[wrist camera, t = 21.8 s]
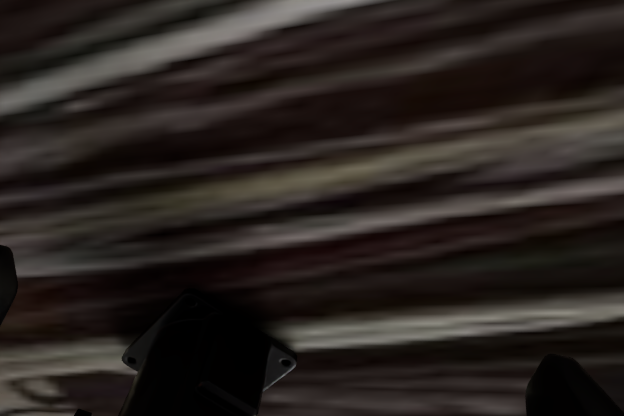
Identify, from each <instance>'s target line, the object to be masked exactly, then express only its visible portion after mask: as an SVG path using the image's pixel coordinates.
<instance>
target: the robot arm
mask: <svg viewBox="0 0 624 416" xmlns="http://www.w3.org/2000/svg"><path fill="white" fill-rule="evenodd" d="M17 289H18V281H17V275H16V269H15V263H14V258H13V253H12V251H11V249H10V248H9V247H7V246H3V245H0V325H1V323H2V322H3V320H4V318H5V316H6V314H7V312H8V310H9V308H10V306H11V304H12V302H13V300H14V298H15V296H16V293H17ZM189 298H191V299H193V300H194V301H192V300H190V299H189ZM285 359H287V360H285ZM122 361H123V362H124V364H126V365H127V366H129V367H131V368H132V369H134V370H136V371H138V373H137V375H136V377H135V379H134V382H133V384H132V386H131V388H130V391H129V393H128V395H127V397H126V400H125V402H124V404H123V406H122V408H121V411H120V413H119V415H118V416H257V414H258V411H259V406H260V402H261V397H262V392H263V391H264V390H266V389H267V388H268V387H270V386H271V385H272V384H274V383H275V382H276V381H278V380H279V379H280V378H282V377H283V376H284V375H286V374H287V373H288V372H290V371H291V370H292V369H294V368H295V366H296V362H297V355H296V354H295V353H294V352H293V351H292V350H290V349H289V348H287V347H285V346H284V345H282V344H281V343H279V342H278V341H276V340H275V339H273V338H272V337H270V336H268V335H267V334H265V333H264V332H262V331H261V330H259V329H258V328H256V327H254V326H253V325H251V324H250V323H248V322H247V321H245V320H244V319H242V318H240V317H239V316H237V315H236V314H234V313H233V312H231V311H230V310H228V309H226V308H225V307H223V306H222V305H220V304H219V303H217V302H216V301H214V300H212V299H211V298H209V297H208V296H206V295H205V294H203V293H202V292H200V291H198V290H196V289H192V288H189V289H186V290H184V291H183V292H182V293H181V294H180V295H179V296H178V297H177V298H176V299H175V300H174V301H173V302H172V303H171V304H170V305H169V306H168V307H167V308H166V309H165V310H164V311H163V312H162V313H161V314H160V315H159V316H158V317H157V318H156V319H155V320H154V321H153V322H152V323H151V324H150V326H149V327H148V328H147V329H146V330H145V331H144V332H143V333H142V334H141V335H140V336H139V337H138V338H137V339H136V340H135V341H134V342H133V343H132V344H131V345H130V346H129V347H128V348H127V349H126V350H125V352H124V354H123V356H122ZM526 412H527V416H624V412H623V411H622V410H621V409H620V408H619V407H618V406H617V405H616V404H615V403H614V401H613V400H612V399H611V398H610V397H609V396H608V395H607V394H606V393H605V392H604V391H603V389H602V388H601V387H600V386H599V385H598V384H597V383H596V382H595V381H594V380H593V379H592V377H591V376H590V375H589V374H588V373H587V372H586V371H585V370H584V369H583V368H582V367H581V365H580V364H579V363H578V362H577V361H576V360H574V359H573V358H571V357H566V356H561V355H556V354H548V355H546V356H545V357H544V358H543V360H542V361H541V363H540V365H539V366H538V368H537V370H536V371H535V373H534V375H533V376H532V378H531V380H530V381H529V383H528V385H527V389H526ZM74 416H92V413H91V412H88V411H84V410H81V409H78V410H77V412H76V413H75V415H74Z"/></svg>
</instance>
